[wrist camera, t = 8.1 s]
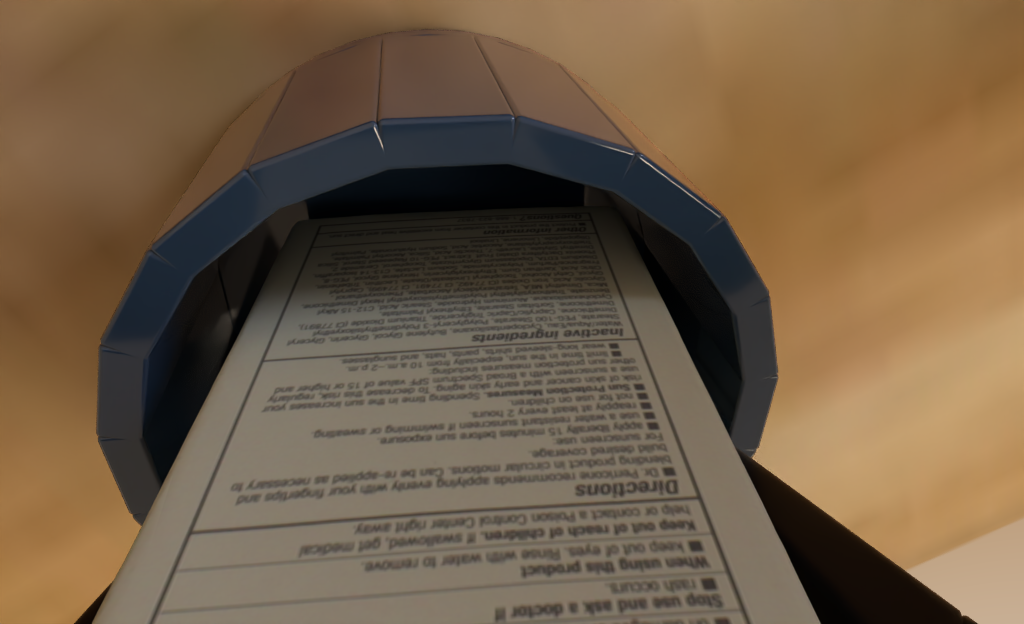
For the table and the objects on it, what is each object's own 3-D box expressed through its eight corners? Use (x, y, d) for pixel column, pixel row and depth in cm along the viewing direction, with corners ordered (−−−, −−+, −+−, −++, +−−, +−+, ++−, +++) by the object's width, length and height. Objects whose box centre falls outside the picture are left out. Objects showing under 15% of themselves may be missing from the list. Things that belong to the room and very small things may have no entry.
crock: (690, 23, 13) (857, 103, 8) (634, 420, 18) (716, 602, 14) (132, 33, 11) (-41, 135, 7) (250, 457, 17) (197, 673, 12)
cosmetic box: (332, 392, 15) (5, 1574, 4) (290, 204, 12) (-644, 1862, 2) (619, 379, 15) (935, 1490, 5) (634, 190, 12) (1373, 1659, 2)
